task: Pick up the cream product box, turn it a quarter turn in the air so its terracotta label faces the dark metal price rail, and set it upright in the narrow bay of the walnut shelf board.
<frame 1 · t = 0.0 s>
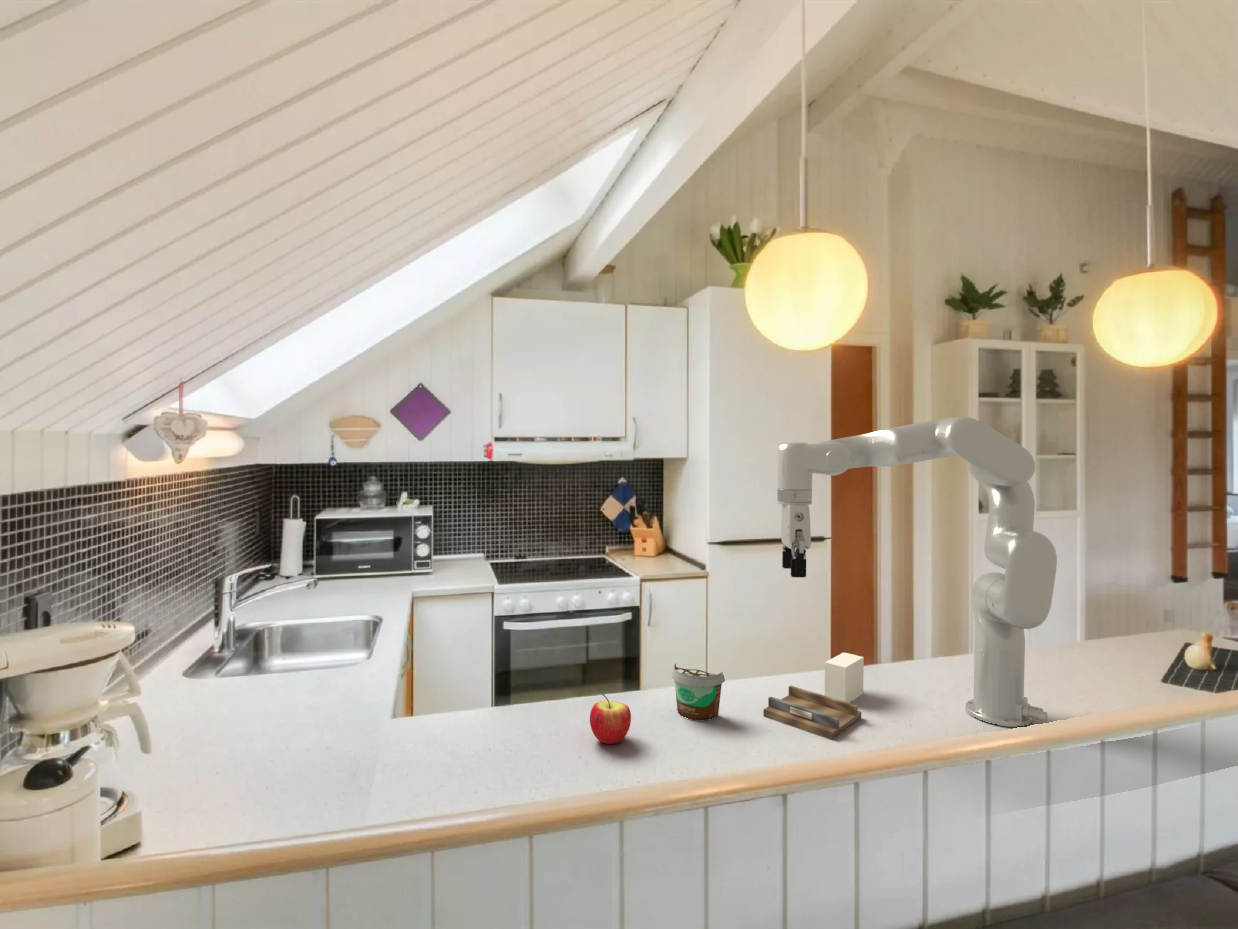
hand: (793, 572, 141), 31 cm above the worktop, tool pointing down, fingers open, 9 cm apart
apple: (610, 741, 126), on the worktop
product box: (844, 696, 149), on the worktop
shelf: (812, 717, 137), on the worktop
food container: (693, 717, 138), on the worktop
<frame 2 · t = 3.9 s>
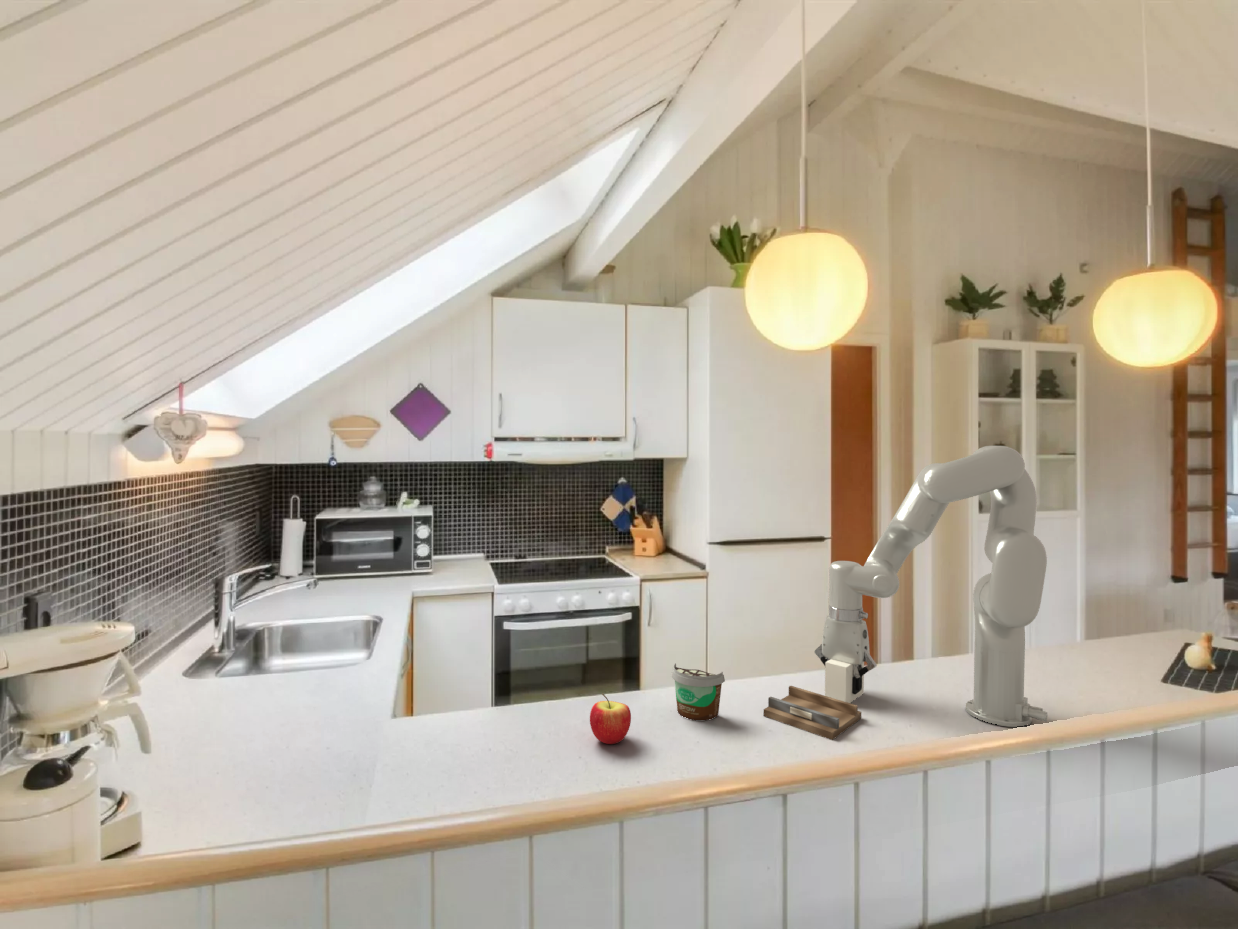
hand: (844, 688, 149), 2 cm above the worktop, tool pointing down, fingers closed on product box, 5 cm apart
product box: (844, 696, 149), on the worktop, touching gripper
everything else where it was.
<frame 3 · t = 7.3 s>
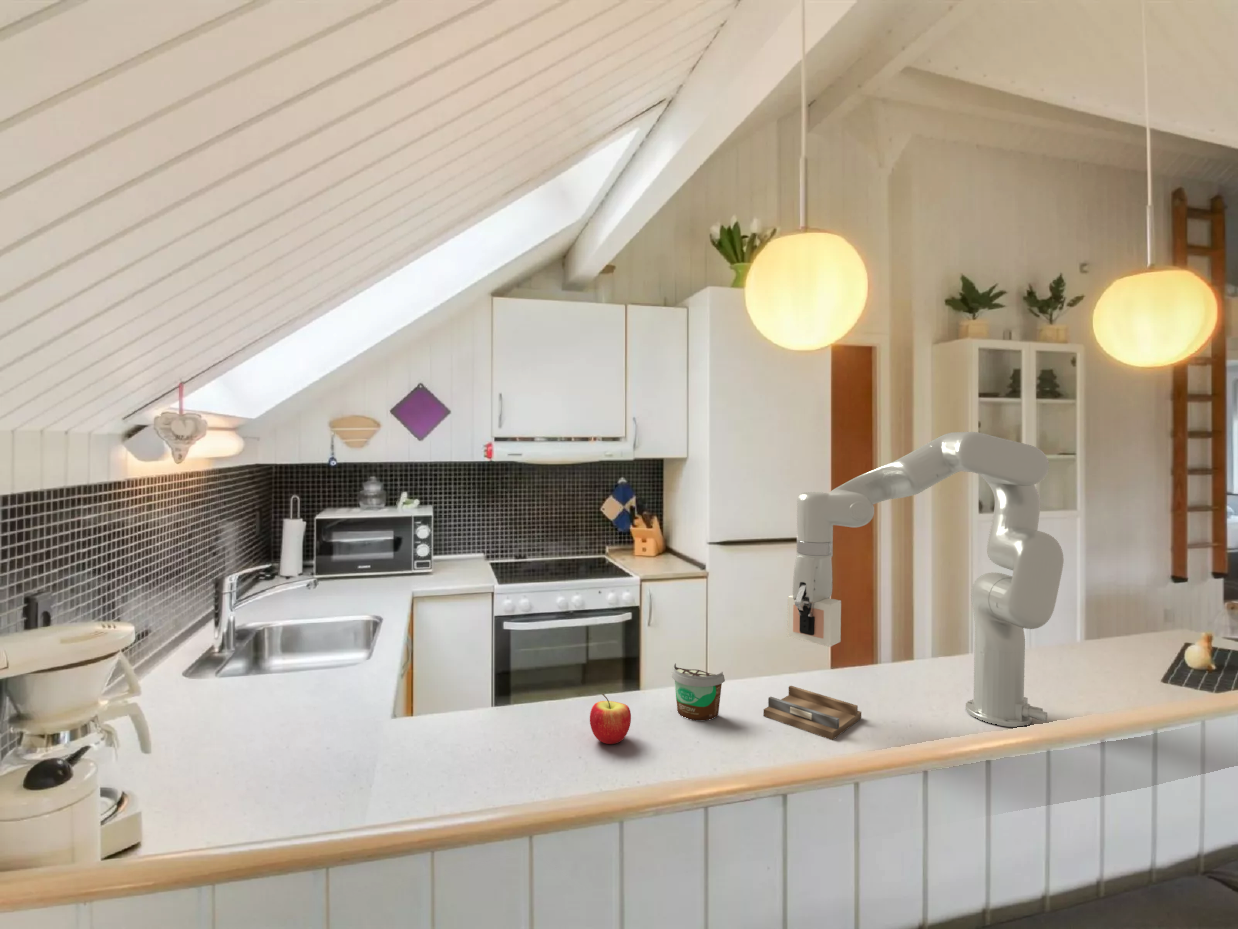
hand: (813, 630, 137), 19 cm above the worktop, tool pointing down, fingers closed on product box, 5 cm apart
product box: (813, 639, 137), point 17 cm above the worktop, touching gripper
everything else where it was.
when the fingers open (5 cm above the worktop, at t = 10.8 s): product box drops 1 cm, resting on shelf.
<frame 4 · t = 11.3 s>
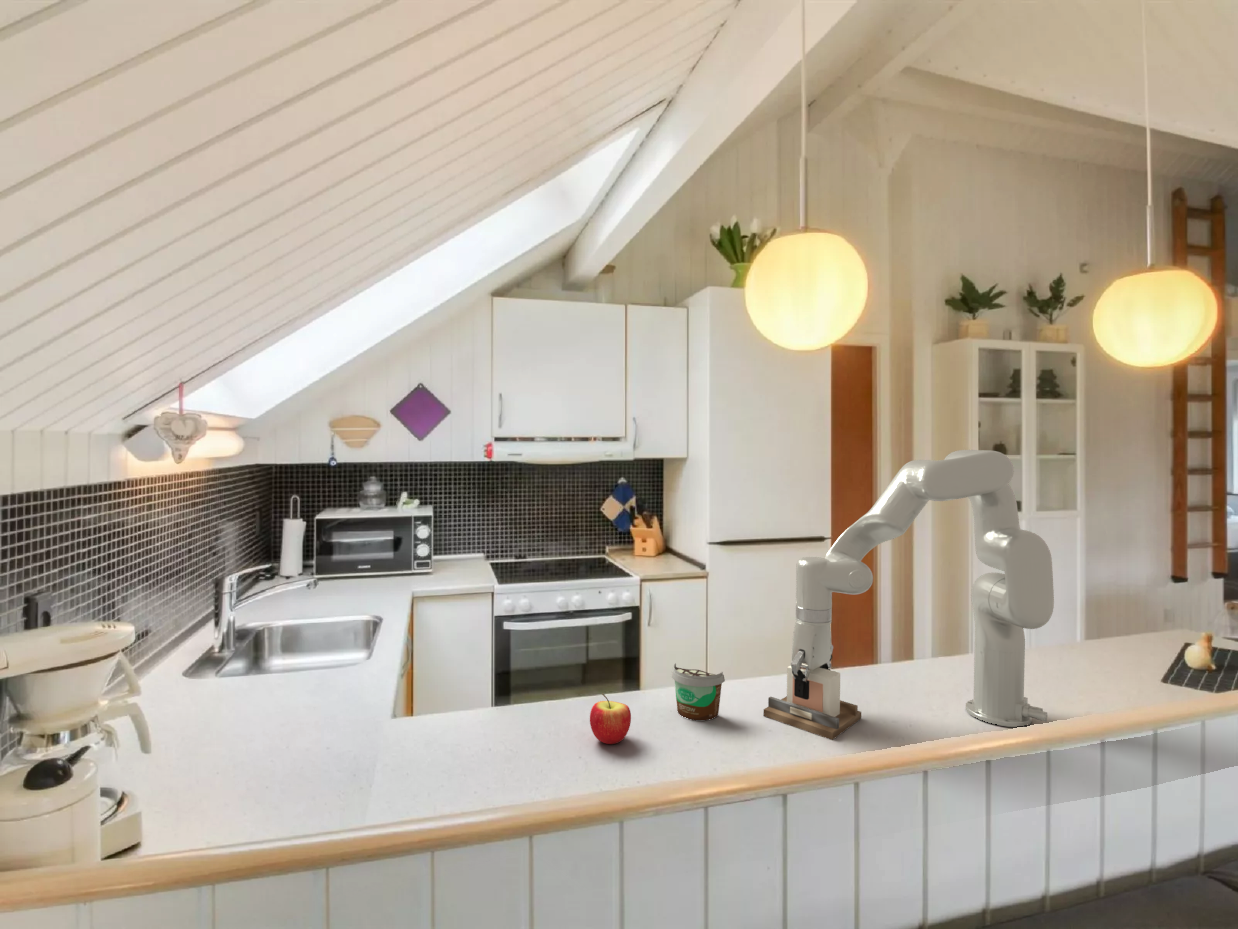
hand: (812, 691, 137), 6 cm above the worktop, tool pointing down, fingers open, 9 cm apart
product box: (812, 710, 137), point 1 cm above the worktop, touching shelf
everything else where it was.
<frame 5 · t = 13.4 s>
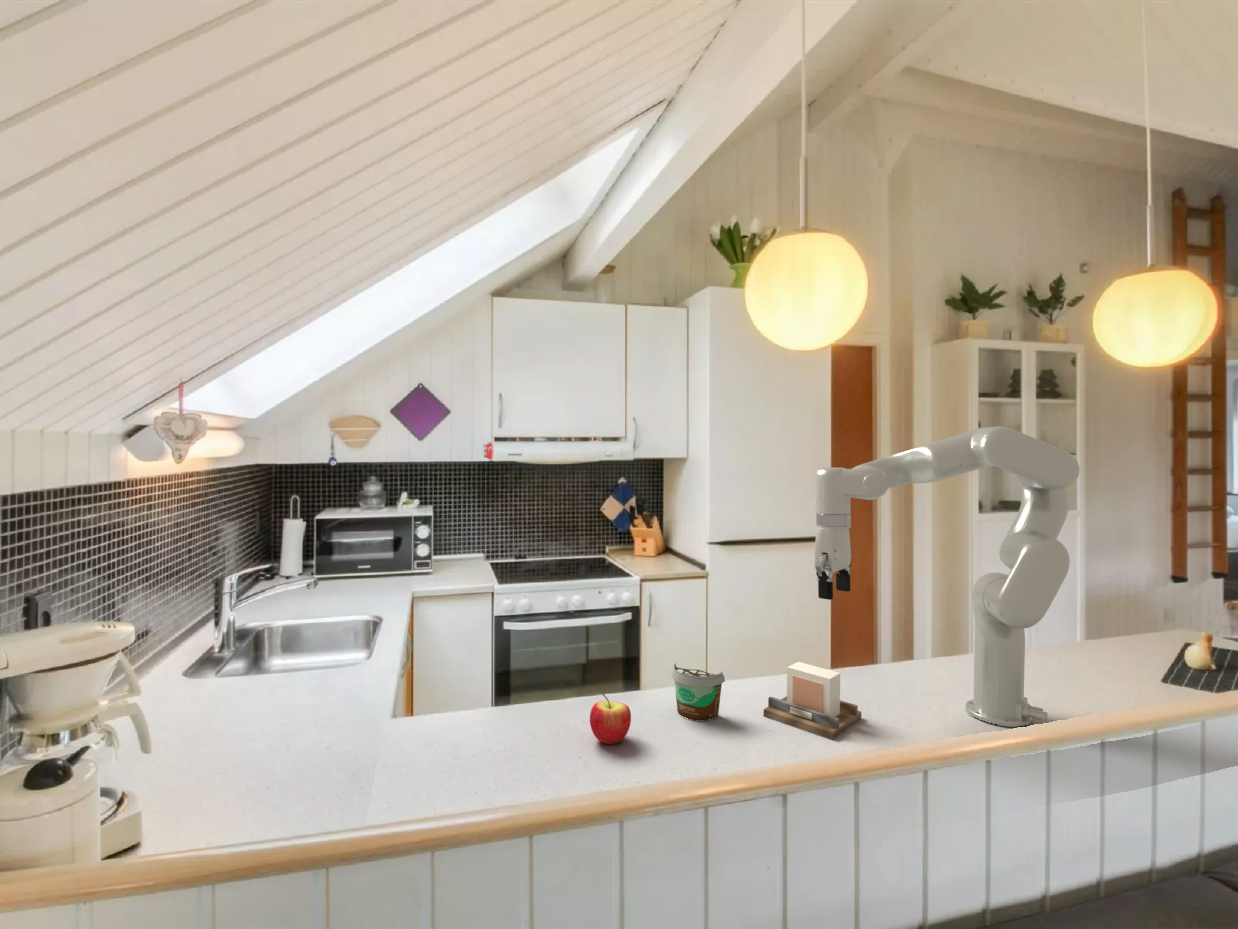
hand: (834, 594, 144), 25 cm above the worktop, tool pointing down, fingers open, 9 cm apart
nothing on the worktop moved.
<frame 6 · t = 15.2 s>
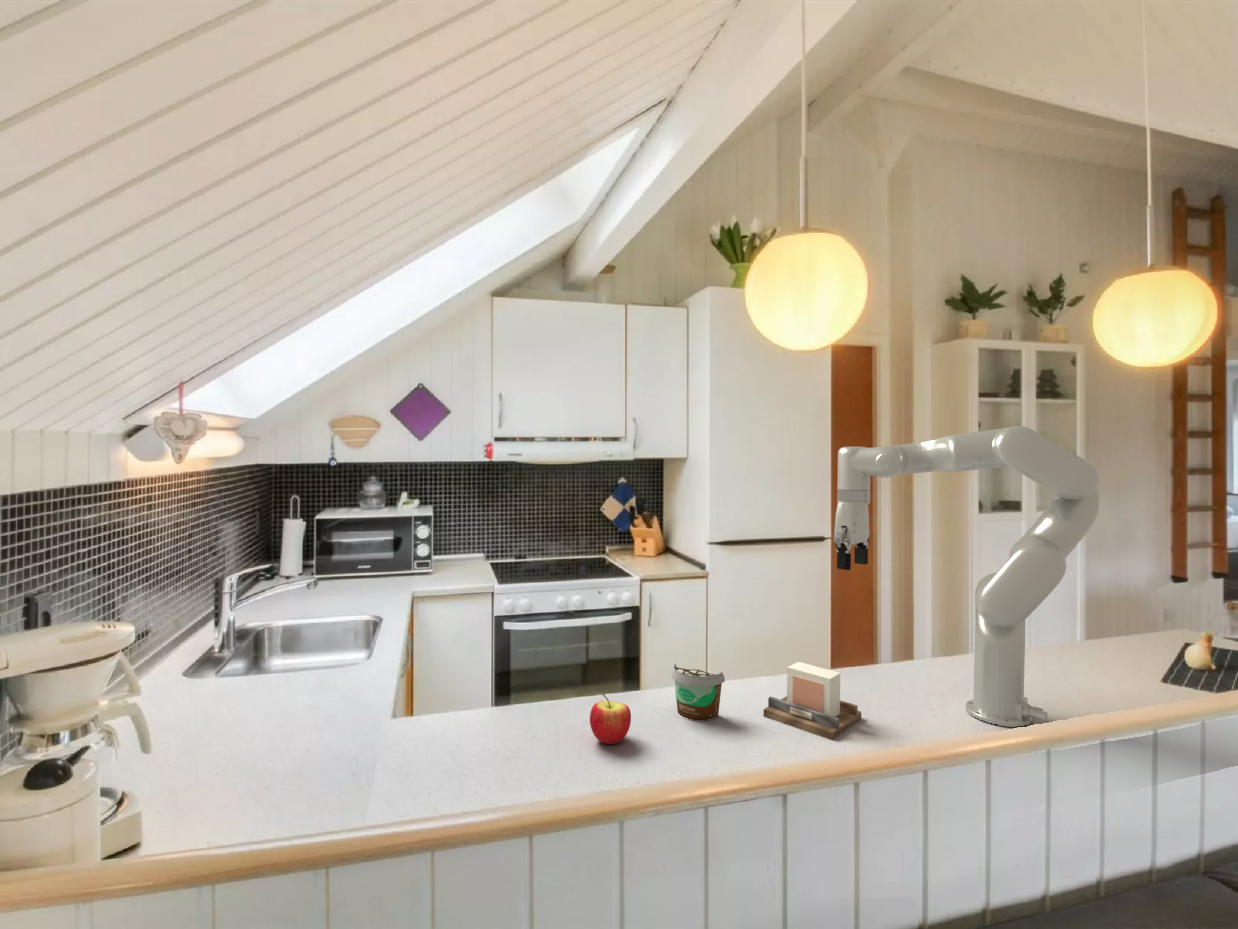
hand: (852, 566, 153), 30 cm above the worktop, tool pointing down, fingers open, 9 cm apart
nothing on the worktop moved.
at the end: product box inside the target area on the shelf (0.2 cm from its centre), point 1.5 cm above the shelf's base; product box tilted 0°; the gripper is holding nothing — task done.
